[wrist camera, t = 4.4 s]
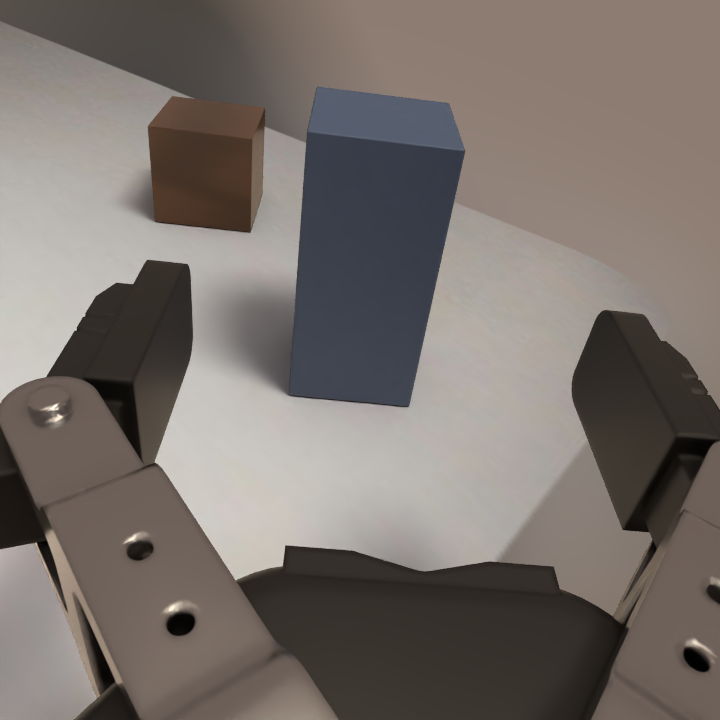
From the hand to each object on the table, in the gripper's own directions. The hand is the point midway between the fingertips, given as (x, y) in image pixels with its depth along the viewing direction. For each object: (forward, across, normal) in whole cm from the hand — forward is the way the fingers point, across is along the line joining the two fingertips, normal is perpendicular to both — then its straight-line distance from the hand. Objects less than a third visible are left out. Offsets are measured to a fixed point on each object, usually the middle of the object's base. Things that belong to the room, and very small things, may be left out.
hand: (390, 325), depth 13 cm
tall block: (+10, 0, +9) cm, 14 cm away
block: (+23, +8, +9) cm, 26 cm away
